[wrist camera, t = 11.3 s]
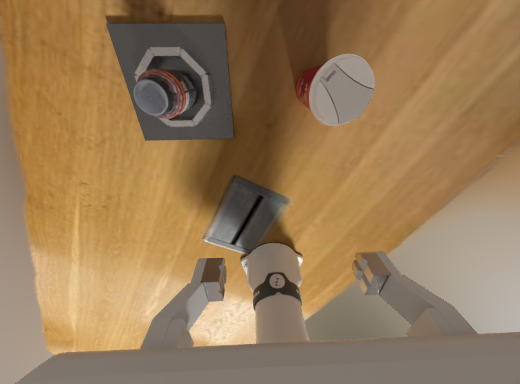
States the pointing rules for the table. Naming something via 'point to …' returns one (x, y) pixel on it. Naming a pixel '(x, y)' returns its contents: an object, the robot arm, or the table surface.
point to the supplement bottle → (164, 92)
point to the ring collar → (187, 61)
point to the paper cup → (337, 89)
